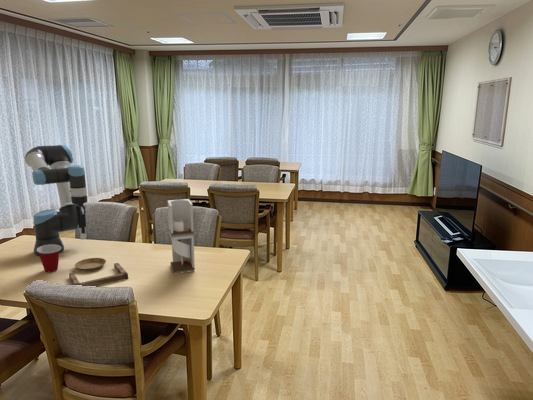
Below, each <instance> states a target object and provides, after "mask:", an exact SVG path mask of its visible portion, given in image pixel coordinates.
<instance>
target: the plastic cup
mask: <svg viewBox="0 0 533 400" xmlns="http://www.w3.org/2000/svg"><path fill="white" fill-rule="evenodd" d="M60 249H61V246H59V245H44V246H40V247H38V248H37V249H36V250H37V252H38V253H39V258H40V261H41V264H42V268H43V270H44V272H45V273H53V272H56V271H58V269H59V263H60V262H59V261H60V253H61V252H60Z"/></svg>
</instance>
